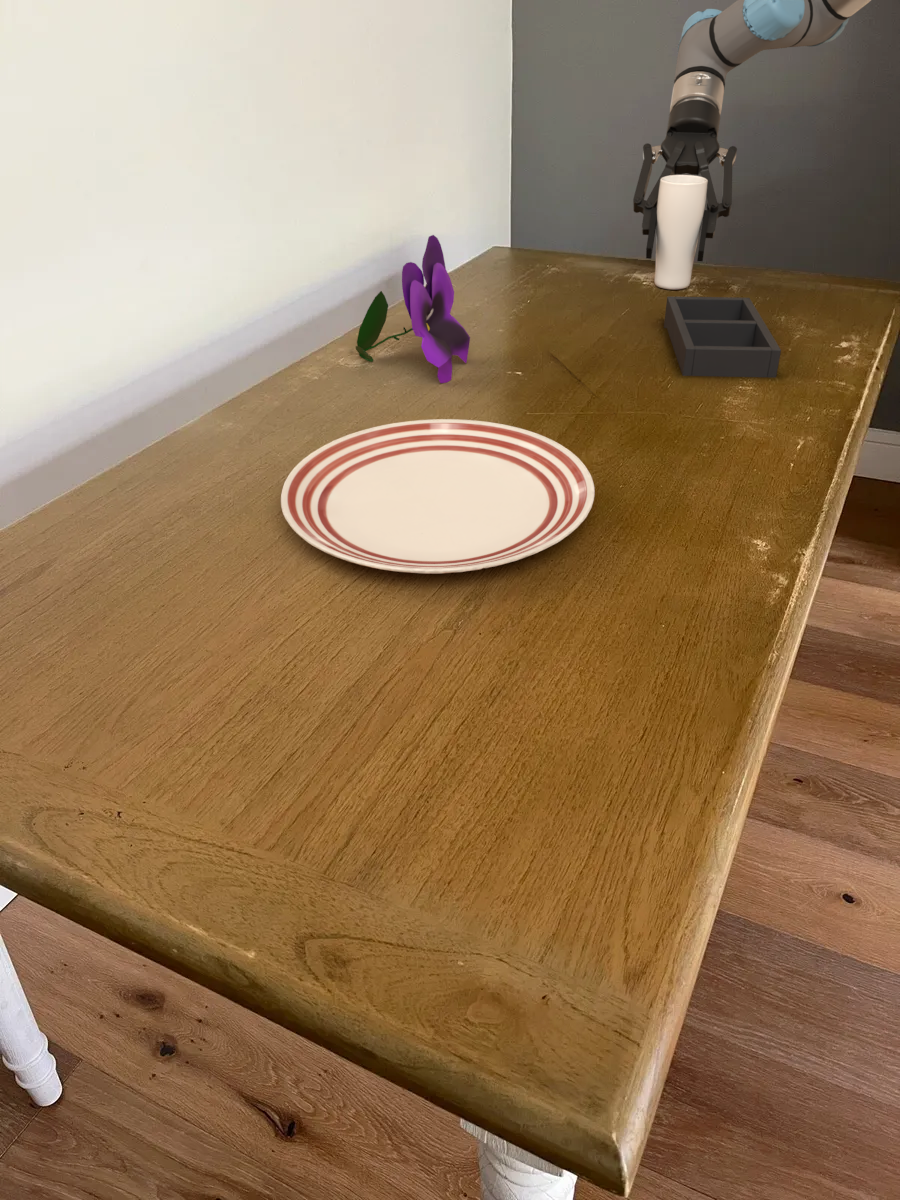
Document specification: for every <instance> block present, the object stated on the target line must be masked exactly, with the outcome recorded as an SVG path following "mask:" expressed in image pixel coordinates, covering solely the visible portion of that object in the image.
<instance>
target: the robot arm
mask: <svg viewBox="0 0 900 1200" xmlns="http://www.w3.org/2000/svg"><path fill="white" fill-rule="evenodd" d="M871 1H872V0H735V1H734V2H733V3H732V4H730V5H729V6H727V7H726V8H725V9H724V10H723V11H722V10H720V9H717V8H706V9H705V10H702V11H699V10H698V11H696V12H694V13H693V14H691V15H690V16H689V17H688V18H687V20H686V21H685V23H683V24H684V25H683V27H682V32H681V36H680V39H679V43H678V46H677V57H676V58H677V59H676V66H675V73H674V80H673V87H672V93H671V100H670V105H669V106H670V107H669V114H668V119H667V126H666V132H665V137H664V139H663V140H662V142H661V143H660V144H659V145H654V146H652V144H650V143H647V142H646V143H645V144H643V145H642V165H641V169H640V173H639V176H638V179H637V180H638V181H637V183H636V188H635V192H634V195H633V199H632V200H633V201H632V207H633V208H632V209H633V210H632V211H633V212H634V213H635V214H638V213H641V214H642V215H643V216H642V223H641V234H642V236H647V242H646V248H645V249H646V251H645V259H649V260H651V259H652V257H653V252H654V251H653V250H654V243H655V238H656V221H657V201H658V192H659V186H660V179H661V178H662V177H665V176H671V175H686V174H687V175H693V176H700V177H704V178H706V179H707V180H708V182H707V194H706V203H705V210H704V215H703V220H702V225H701V229H700V235H699V242H698V243H699V245H698V252H697V258H696V259H697V262H703V261H704V254H705V248H706V247H705V246H706V240H707V239H713V238H714V237H715V234H716V226H717V220H718V219H719V218H721V217H724V218H728V217H729V216H730V215H731V211H732V202H733V167H734V166H735V162H736V159H737V152H738V148H737V147H736V146H734V145H732V146H730V147H728V148H725V147H721V146H720V143H719V141H718V137H719V131H720V123H721V114H722V110H723V101H724V95H725V87H726V78H727V75H728V73H729V72H731V71H732V70H733V69H735V68H737V67H739V66H740V65H742V64H743V63H745V62H746V61H747V60H749V59H751V58H752V57H754V56H756V55H757V54H758V53H761V52H763V51H768V50H777V49H778V50H779V49H787V48H799V47H818V46H821V45H823V44H827V43H830V42H832V41H834V40H835V39H837V38H839V36H840V35H841V34H842V33H843V31H844V30H845V27H846V26H847V25H848V22H849V20H850V18H851V17H852V16H853V15H855V14H856V13H857V12H859V11H860V10H861V9H863V8H864V7H865V6H866V5H867V4H869V3H870V2H871ZM660 156H661V157H662V158H663V160H664V162H666V163H665V167H664V168H663V171H662V172H661V174H660V176H659V178H658V179H657V181H656V183H655V185H654V187H652V190H651V191H650V194H649V195H648V197H647V199H646V200H645V197H646V194H647V190H648V187H649V183H650V178H651V175H652V172H653V165H654V164H656V162H657V161H658V158H659V157H660ZM716 158H719V164H720V166H721V167H722V172H721V173H722V175H721V177H722V178H721V179H722V180H721V202H718V200H717V195H716V193H715V189H714V188H715V187H714V184H713V181H712V177H711V173H710V169H709V166H710V164H711V163H712V162H713V161H714V160H715V159H716Z"/></svg>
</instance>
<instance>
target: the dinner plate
mask: <svg viewBox="0 0 900 1200" xmlns="http://www.w3.org/2000/svg"><path fill="white" fill-rule="evenodd" d="M595 493H596V492H595V484H594V480H593V476H592V475H591V473H590V471H589V469H588V468H587V466H586V465H585V464H584V463H583V461H582V460H581V459H580V458H579V457H578V456H577V455H576V454H575V453H574V452H572V451H571V450H570V449H568V448H566V447H565V446H564V445H562V444H560V443H559V442H557V441H555V440H553V439H551V438H550V437H549V438H548V437H546V436H544V435H542V434H539V433H537V432H534V431H531V430H527V429H525V428H521V427H516V426H513V425H509V424H502V423H497V422H492V421H483V420H475V419H457V418H455V419H454V418H439V419H437V418H435V419H433V418H431V419H417V420H409V421H400V422H393V423H387V424H382V425H378V426H373V427H369V428H366V429H362V430H359V431H356V432H353V433H349V434H347V435H346V434H345V435H344V436H341V437H339V438H336V439H334V440H332V441H330V442H328V443H326V444H325V445H323V446H321V447H319V448H317V449H316V450H313V451H312V452H311V453H310V454H308V455H306V457H304V458H303V459H301V460H300V461H299V462H298V463H297V464H296V465H295V466H294V467H293V469H292V470H291V471H290V473H289V474H288V476H287V477H286V479H285V480H284V483H283V486H282V489H281V494H280V507H281V511H282V514H283V517H284V519H285V521H286V523H288V525H289V526H290V528H291V529H292V530H293V531H294V532H295V533H296V535H298V536H299V537H300V538H301V539H302V540H304V541H305V542H306V543H308V544H309V545H310V546H313V547H314V548H316V549H318V550H320V551H321V552H324V553H325V554H328V555H329V556H332V557H335V558H338V559H340V560H343V561H346V562H348V563H352V564H356V565H359V566H363V567H367V568H372V569H376V570H377V569H378V570H384V571H391V572H396V573H397V572H399V573H411V574H451V573H463V572H470V571H471V572H472V571H478V570H479V571H480V570H482V569H489V568H492V567H493V568H494V567H498V566H502V565H505V564H509V563H512V562H516V561H519V560H522V559H525V558H528V557H530V556H532V555H535V554H538V553H539V552H542V551H544V550H546V549H548V548H550V547H552V546H554V545H556V544H558V543H559V542H561V541H562V540H564V539H565V538H566V537H568V536H570V535H571V534H572V533H573V532H574V531H575V530H577V529H578V528H579V527H580V525H581V524H582V523H583V522H584V521H585V520H586V519H587V517H588V515H589V513H590V511H591V509H592V508H593V504H594V501H595Z"/></svg>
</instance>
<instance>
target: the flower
mask: <svg viewBox="0 0 900 1200" xmlns="http://www.w3.org/2000/svg"><path fill="white" fill-rule="evenodd" d="M401 287H402V288H401V289H402V296H403V300H404V304H405V307H406V310H407V313H408V315H409V319H410V321H411V328H409V329H406V327H405V326H403V330H404V332H401V333H397V334H393V335H389V336H387V337H386V338H384V339H383V340H381V341H379V342H377V340H378V339H379V337H380V334H381V332H382V330H383V328H384V326H385V323H386V321H387V316H388V310H389V304H388V301H387V298H386V295H385V294H384V293H383V291H382V290H380V291H379V292H378V293H377V294H376V295H375V297H374V298H373V299H372V302H371V303H370V304H369V306H368V308H367V311H366V313H365V315H364V317H363V320H362V321H361V325H360V326H359V328H358V329H359V330H358V334H357V339H356V345H355V350H356V352H357V353H358V356H359V357H360V358H361V359H362V360H365V361H367V362H371V363H372V362H373V361H374V358H373V356H371V355H370V354H369V353H368V351H370V350H372V349H375V348H376V347H378V346H380V345H381V344H384V343H385V342H387V341H388V340H390V339H393V340H396V341H400V338H399V337H401V336H404V335H406V334H408V333H410V332H412V331H413V334H414V336H416V337H419V338H422V340H421V345H420V347H421V350H422V352H423V354H424V356H425V359H426V361H427V362H428V363H430V364H431V365H433V366H435V367H437V368H438V369H437V376H436V377H437V379H438V381H439V383H440V384H446V383H447V384H448V383H449V382H450V381H451V380H452V378H453V360H452V359H453V356H458V357H459V358H460V359H461V361H463V362H464V363H465V364H467V361H468V357H469V356H468V355H469V349H470V341H471V336H470V335H469V333H468V332H467V330H466V329H465V327H464V326H463V325H462V324H461V323H460V322H459V321H458V320H457V319H456V318H455V317H454V316H453V315H452V314H451V312H452V309H453V304H454V302H455V301H454V300H455V290H454V286H453V283H452V279H451V277H450V275H449V273H448V271H447V268H446V262H445V257H444V252H443V248H442V244H441V243H440V241H439V238H438V237H437V236H435V234H432V235H430V236H428V239H427V243H426V247H425V251H424V253H423V256H422V262H421V268H420V267H419V266H418V264H417V263H415V262H412V261H409V262H406V263H405V264H404V265H402V270H401ZM376 342H377V343H376Z"/></svg>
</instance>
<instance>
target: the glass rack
mask: <svg viewBox="0 0 900 1200" xmlns="http://www.w3.org/2000/svg"><path fill="white" fill-rule="evenodd" d="M663 329H666V330H667V333H668V336H669V339H670V343H671V345H672V348H673V352H674V354H675V357H676V361H677V363H678V366H679V369H680V372H681V375H682V376H683V377H726V378H727V377H732V378H733V377H734V378H777V375H778V370H779V363H780V359H781V353H782V349H781V348H780V346H779V344H778V342H777V341H776V339H775V337H774V336H773V335H772V332H771V331H770V330H769V328H768V326H767V324H766V323H765V321H764V320H763V318H762V317H761V315H760V312H759V311H758V310H757V308H756V307H755V305H754V303H753V301H752V300H751V298H750V297H736V296H735V297H734V296H733V297H732V296H731V297H729V296H728V297H727V296H667V297H666V305H665V312H664V321H663Z"/></svg>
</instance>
